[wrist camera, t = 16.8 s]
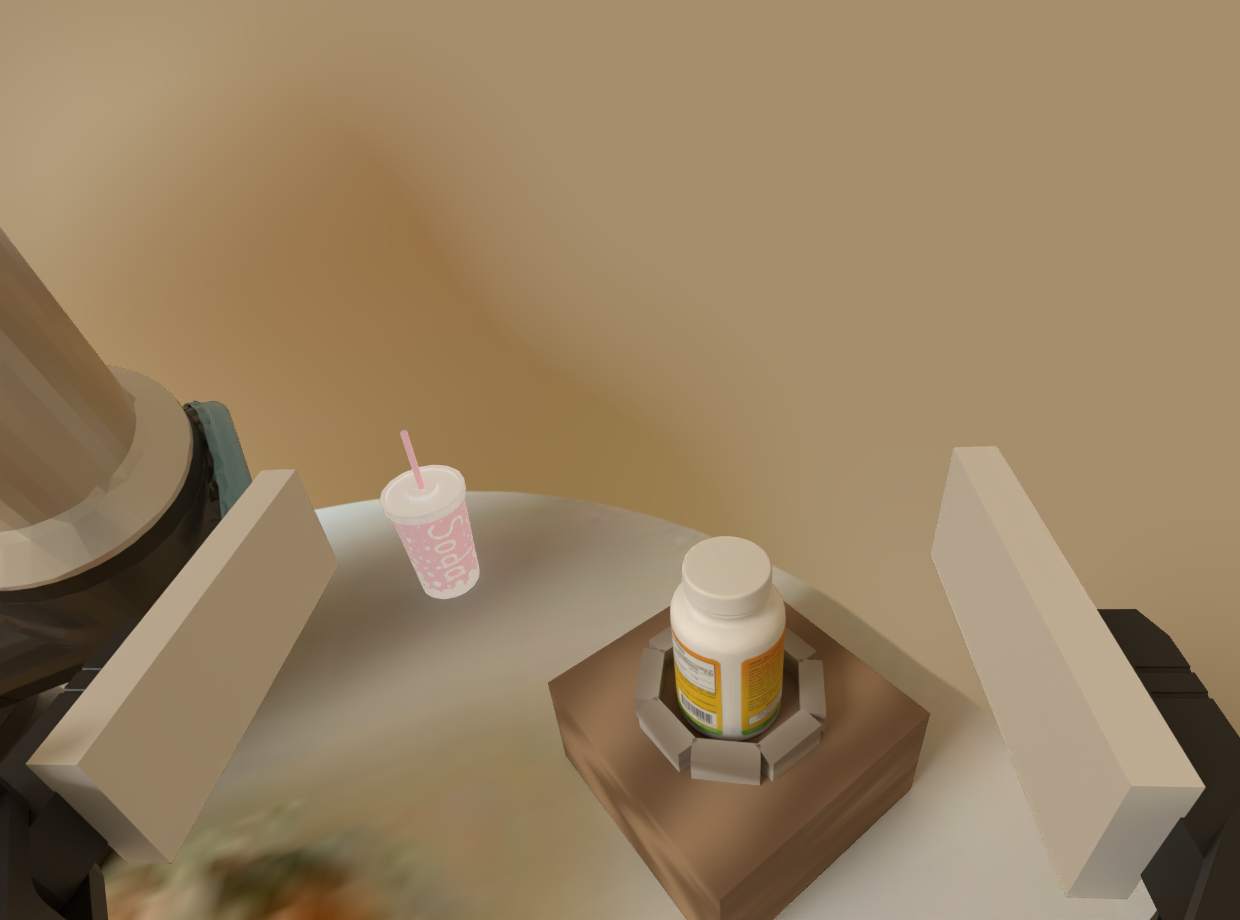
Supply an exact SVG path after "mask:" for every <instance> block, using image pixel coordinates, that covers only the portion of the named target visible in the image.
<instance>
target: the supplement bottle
mask: <svg viewBox="0 0 1240 920" xmlns="http://www.w3.org/2000/svg"><path fill="white" fill-rule="evenodd" d="M670 621H671V631H672V642H673V654H674V665H675V677H676V689H677V698H678V703H679V707H680V709H681V711H682V713H683V715H684V717H685V718H686V720H687V721H688V722H689V724H690V725H691V726H692V727H693V728H695V729H696V730H697V731H699V732H700V733H702V734H704V735H705V736H707V737H710V738H712V739H716V740H724V741H734V742H735V741H742V740H747V739H750V738H753V737H755V736H757V735H759V734H761V733H762V732H764V731H765V730H766V729H767V728H768V727H770V725H771V724H772V723H773V722H774V720H775V719H776V717H777V715H778V712H779V709H780V705H781V698H782V679H783V662H784V642H785V625H786V616H785V606H784V602H783V599H782V597H781V595H780V593H779V592H778V590H777V589H776V587H775V586H774V585H773V584H772V565H771V561H770V559H769V557H768V555H767V553H766V552H765V551H764V550H763V549H762V548H761V547H760V546H758V545H757V544H755V543H753V542H751V541H749V540H746V539H743V538H739V537H734V536H719V537H713V538H709V539H706V540H703V541H701V542H699V543H698V544H696V545H694V546H693V547H692V548H691V549H690V550H689V551H688V552H687V554H686V555H685V557H684V560H683V564H682V582H681V583H680V585H679V586H678V587H677V589H676V591H675V592H674V595H673V597H672V601H671V606H670Z"/></svg>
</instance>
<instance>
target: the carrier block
mask: <svg viewBox="0 0 1240 920" xmlns="http://www.w3.org/2000/svg"><path fill="white" fill-rule="evenodd" d="M783 602H784V601H783ZM784 606H785V616H786V625H785V642H784V662H783V679H782V698H781V705H780V709H779V712H778V715H777V717H776V719H775V720H774V722H773V723H772V724H771V725H770V727H768V728H767V729H766V730H765V731H764V732H762V733H761V734H759V735H757V736H755V737H753V738H750V739H747V740H742V741H735V742H734V741H724V740H716V739H712V738H710V737H707V736H705V735H704V734H702V733H700V732H699V731H697V730H696V729H695V728H693V727H692V726H691V725H690V724H689V722H688V721H687V720H686V718H685V717H684V715H683V713H682V711H681V709H680V707H679V703H678V698H677V689H676V677H675V665H674V654H673V642H672V631H671V621H670V606H669V607H668V608H666V609H664V610H663V611H661V612H660V613H658V614H656V615H655V616H653V617H652V618H650V619H649V620H647V621H645V622H644V623H642V624H641V625H639V626H637V627H636V628H634V629H633V630H631V631H629V632H628V633H626V634H625V635H623V636H622V637H620V638H618V639H617V640H615V641H614V642H612V643H610V644H609V645H607V646H606V647H604V648H602V649H601V650H599V651H598V652H596V653H594V654H593V655H591V656H590V657H588V658H587V659H585V660H583V661H582V662H580V663H579V664H577V665H575V666H574V667H572V668H571V669H569V670H567V671H566V672H564V673H563V674H561V675H560V676H558V677H556V678H555V679H553V680H552V681H550V682H548V685H549V689H550V693H551V697H552V701H553V705H554V709H555V713H556V718H557V722H558V726H559V730H560V734H561V738H562V742H563V746H564V750H565V754H566V756H567V757H568V759H569V760H570V761H571V763H572V764H573V766H574V767H575V768H576V770H577V771H578V772H579V774H580V775H581V776H582V778H583V779H584V780H585V782H586V783H587V785H588V786H589V787H590V789H591V790H592V791H593V793H594V794H595V795H596V797H597V798H598V800H599V801H600V802H601V804H602V805H603V806H604V808H605V809H606V810H607V812H608V813H609V814H610V816H611V817H612V819H613V820H614V821H615V823H616V824H617V825H618V827H619V828H620V829H621V831H622V832H623V834H624V835H625V836H626V838H627V839H628V840H629V842H630V843H631V844H632V846H633V847H634V848H635V850H636V851H637V853H638V854H639V855H640V857H641V858H642V859H643V861H644V862H645V863H646V865H647V866H648V867H649V869H650V870H651V872H652V873H653V874H654V876H655V877H656V878H657V880H658V881H659V882H660V884H661V885H662V887H663V888H664V889H665V891H666V892H667V893H668V895H669V896H670V897H671V899H672V900H673V901H674V903H675V904H676V906H677V907H678V908H679V910H680V911H681V912H682V914H683V915H684V916H685V918H686V919H687V920H772V919H774V918H775V917H776V916H777V915H778V914H779V913H780V912H781V911H782V910H783V909H784V908H785V907H786V906H787V905H788V904H789V903H790V902H792V901H793V900H794V899H795V898H796V897H797V896H798V895H799V894H800V893H801V892H802V891H803V890H804V889H805V888H806V887H807V886H808V885H810V884H811V883H812V882H813V881H814V880H815V879H816V878H817V877H818V876H819V875H820V874H821V873H822V872H823V871H824V870H825V869H826V868H828V867H829V866H830V865H831V864H832V863H833V862H834V861H835V860H836V859H837V858H838V857H839V856H840V855H841V854H842V853H843V852H844V851H846V850H847V849H848V848H849V847H850V846H851V845H852V844H853V843H854V842H855V841H856V840H857V839H858V838H859V837H860V836H861V835H862V834H863V833H865V832H866V831H867V830H868V829H869V828H870V827H871V826H872V825H873V824H874V823H875V822H876V821H877V820H878V819H879V818H880V817H881V816H883V815H884V814H885V813H886V812H887V811H888V810H889V809H890V808H891V807H892V806H893V805H894V804H895V803H896V802H897V801H898V800H899V799H901V798H902V797H903V796H904V795H905V794H906V793H907V792H908V791H909V790H910V789H911V785H912V781H913V777H914V773H915V769H916V765H917V762H918V758H919V754H920V750H921V746H922V742H923V739H924V735H925V731H926V727H927V723H928V719H929V716H930V713H929V712H928V711H926V710H925V709H924V708H922V707H921V706H920V705H918V704H917V703H916V702H915V701H913V700H912V699H911V698H909V697H908V696H907V695H905V694H904V693H903V692H901V691H900V690H899V689H898V688H896V687H895V686H894V685H892V684H891V683H890V682H888V681H887V680H886V679H885V678H883V677H882V676H881V675H879V674H878V673H877V672H875V671H874V670H873V669H871V668H870V667H869V666H868V665H866V664H865V663H864V662H862V661H861V660H860V659H858V658H857V657H856V656H855V655H853V654H852V653H851V652H849V651H848V650H847V649H845V648H844V647H843V646H841V645H840V644H839V643H838V642H836V641H835V640H834V639H832V638H831V637H830V636H828V635H827V634H826V633H824V632H823V631H822V630H821V629H819V628H818V627H817V626H815V625H814V624H813V623H811V622H810V621H809V620H808V619H806V618H805V617H804V616H802V615H801V614H800V613H798V612H797V611H796V610H794V609H793V608H792V607H791V606H789V605H788V604H787V603H785V602H784Z"/></svg>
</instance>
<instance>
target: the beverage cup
mask: <svg viewBox="0 0 1240 920" xmlns="http://www.w3.org/2000/svg"><path fill="white" fill-rule="evenodd" d="M400 434H401V437H402V440H403V443H404V446H405V449H406V452H407V455H408V458H409V461H410V464H411V467H412V470H410V471H407V472H404V473H402V474H401V475H399V476H398V477H396V478H395V479H393V480H392V481H390V482H389V484H388V485H387V486H386V487H385V488H384V489H383V491H382V494H381V498H380V503H381V506H382V508H383V510H384V512H385V514H386V516H387V518H388V519H390V520H392V521H393V524H394V526H395V528H396V530H397V532H398V534H399V537H400V539H401V541H402V543H403V545H404V548H405V550H406V552H407V554H408V556H409V558H410V561H411V563H412V565H413V567H414V569H415V571H416V574H417V576H418V578H419V580H420V582H421V584H422V587H423V589H424V591H425V593H426V594H428V595H430V596H431V597H433V598H439V599H448V598H454V597H457V596H459V595H461V594H463V593H466V592H467V591H468V590H469V589H471V588H472V587H473V586H474V585H475V583H476V582H477V580H478V578H479V565H478V560H477V555H476V550H475V545H474V540H473V535H472V530H471V526H470V521H469V516H468V511H467V506H466V501H465V494H466V486H465V481H464V478H463V476H462V475H461V474H460V472H459V471H458V470H456V469H453V468H451V467H449V466H442V465H429V466H423V467H418V464H417V461H416V458H415V454H414V451H413V448H412V445H411V442H410V439H409V436H408V433H407V431H406V430H404V431H401V432H400Z"/></svg>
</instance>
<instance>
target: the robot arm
mask: <svg viewBox="0 0 1240 920" xmlns="http://www.w3.org/2000/svg"><path fill="white" fill-rule="evenodd" d="M930 555H931V558H932V560H933V563H934V565H935V568H936V570H937V573H938V575H939V578H940V580H941V583H942V586H943V588H944V590H945V593H946V596H947V598H948V600H949V603H950V606H951V608H952V611H953V613H954V616H955V618H956V621H957V623H958V626H959V629H960V631H961V633H962V636H963V639H964V641H965V644H966V646H967V649H968V651H969V654H970V656H971V659H972V661H973V664H974V666H975V669H976V671H977V674H978V677H979V679H980V682H981V684H982V686H983V689H984V691H985V694H986V697H987V699H988V702H989V704H990V707H991V709H992V712H993V714H994V717H995V720H996V722H997V725H998V727H999V730H1000V732H1001V735H1002V737H1003V740H1004V742H1005V745H1006V747H1007V750H1008V752H1009V755H1010V757H1011V760H1012V762H1013V765H1014V768H1015V770H1016V773H1017V775H1018V778H1019V780H1020V783H1021V785H1022V788H1023V790H1024V793H1025V795H1026V798H1027V800H1028V803H1029V805H1030V808H1031V811H1032V813H1033V816H1034V818H1035V821H1036V823H1037V826H1038V828H1039V831H1040V833H1041V836H1042V838H1043V841H1044V843H1045V846H1046V848H1047V851H1048V853H1049V856H1050V859H1051V861H1052V864H1053V866H1054V869H1055V871H1056V874H1057V876H1058V879H1059V881H1060V884H1061V886H1062V889H1063V891H1064V894H1065V896H1066V897H1076V898H1103V899H1128V897H1129V896H1130V894H1131V893H1132V892H1133V890H1134V889H1135V887H1136V886H1137V884H1138V883H1139V882H1140V880H1141V879H1142V880H1143V882H1144V884H1145V886H1146V888H1147V890H1148V892H1149V894H1150V896H1151V898H1152V901H1153V903H1154V905H1155V907H1156V909H1157V911H1156V912H1155V914H1154V915H1153V916H1152V918H1151V919H1150V920H1240V737H1239V736H1238V735H1237V733H1236V732H1235V730H1234V729H1233V728H1232V726H1231V724H1230V723H1229V722H1228V720H1227V719H1226V718H1225V716H1224V714H1223V713H1222V711H1221V710H1220V709H1219V707H1218V706H1217V704H1216V703H1215V701H1214V700H1213V699H1210V698H1209V697H1208V691H1207V690H1206V688H1205V687H1204V685H1203V684H1202V682H1201V681H1200V680H1199V678H1198V677H1197V675H1196V674H1195V673H1192V672H1191V670H1190V665H1189V664H1188V662H1187V661H1186V659H1185V658H1184V657H1183V655H1182V654H1181V652H1180V651H1179V649H1178V648H1177V647H1176V645H1175V644H1174V642H1173V641H1172V639H1171V638H1170V636H1169V635H1168V634H1166V633H1165V632H1164V631H1162V630H1161V629H1160V628H1159V627H1158V626H1156V625H1155V624H1154V623H1153V622H1151V621H1150V620H1149V619H1148V618H1146V617H1145V616H1144V615H1143V614H1141V613H1140V612H1139V611H1138V610H1136V609H1096V607H1095V606H1094V604H1093V602H1092V601H1091V599H1090V598H1089V596H1088V594H1087V593H1086V591H1085V590H1084V588H1083V586H1082V585H1081V583H1080V581H1079V580H1078V578H1077V576H1076V575H1075V573H1074V571H1073V570H1072V568H1071V567H1070V565H1069V563H1068V562H1067V560H1066V558H1065V557H1064V555H1063V553H1062V552H1061V550H1060V549H1059V547H1058V545H1057V544H1056V542H1055V540H1054V539H1053V537H1052V535H1051V534H1050V532H1049V531H1048V529H1047V527H1046V526H1045V524H1044V523H1043V521H1042V519H1041V518H1040V516H1039V514H1038V513H1037V511H1036V509H1035V508H1034V506H1033V505H1032V503H1031V501H1030V500H1029V498H1028V496H1027V495H1026V493H1025V491H1024V490H1023V488H1022V487H1021V485H1020V483H1019V482H1018V480H1017V478H1016V477H1015V475H1014V474H1013V472H1012V470H1011V469H1010V467H1009V465H1008V464H1007V462H1006V460H1005V459H1004V457H1003V455H1002V454H1001V452H1000V451H999V449H998V447H997V446H978V447H954V448H953V452H952V457H951V461H950V466H949V471H948V475H947V480H946V485H945V489H944V494H943V499H942V503H941V508H940V513H939V517H938V522H937V527H936V531H935V536H934V541H933V545H932V550H931V554H930ZM338 565H339V564H338V562H337V560H336V557H335V555H334V553H333V551H332V548H331V546H330V544H329V542H328V540H327V537H326V535H325V533H324V531H323V528H322V526H321V524H320V522H319V520H318V517H317V515H316V513H315V511H314V508H313V506H312V504H311V502H310V499H309V497H308V495H307V493H306V491H305V488H304V486H303V484H302V482H301V480H300V477H299V475H298V473H297V471H296V469H289V470H262V471H261V472H260V473H259V474H258V476H257V477H256V478H255V479H254V481H253V482H252V478H251V475H250V472H249V469H248V466H247V463H246V460H245V457H244V454H243V451H242V448H241V444H240V441H239V438H238V435H237V432H236V429H235V426H234V423H233V420H232V417H231V414H230V412H229V410H228V409H227V407H226V406H225V405H224V404H222V403H220V402H217V401H209V402H203V403H200V402H197V401H194V402H191V403H186V404H185V405H184V406H183V407H182V406H181V404H179V402H178V401H177V400H176V398H175V397H174V396H173V395H172V393H171V392H169V391H168V390H167V389H166V388H165V387H163V386H162V385H161V384H160V383H158V382H156V381H154V380H153V379H151V378H149V377H147V376H145V375H142V374H140V373H138V372H135V371H132V370H129V369H125V368H121V367H117V366H110V365H105V364H104V362H103V361H102V360H101V358H100V357H99V356H98V354H97V353H96V352H95V350H94V349H93V348H92V347H91V345H90V344H89V343H88V341H87V340H86V339H85V337H84V336H83V335H82V333H81V332H80V331H79V330H78V328H77V327H76V326H75V324H74V323H73V322H72V320H71V319H70V318H69V316H68V315H67V314H66V313H65V311H64V310H63V309H62V307H61V306H60V305H59V304H58V302H57V301H56V300H55V298H54V297H53V296H52V294H51V293H50V292H49V290H48V289H47V288H46V286H45V285H44V284H43V283H42V281H41V280H40V279H39V277H38V276H37V275H36V273H35V272H34V271H33V270H32V268H31V267H30V266H29V265H28V263H27V262H26V261H25V259H24V258H23V256H22V255H21V254H20V253H19V251H18V250H17V249H16V247H15V246H14V245H13V243H12V242H11V241H10V239H9V238H8V237H7V235H6V234H5V233H4V232H3V230H2V229H1V228H0V920H108V914H107V903H106V893H105V883H104V876H103V874H102V872H101V869H100V867H99V865H100V864H101V863H102V861H103V860H104V859H105V858H106V856H107V855H108V854H109V852H110V851H111V850H112V848H113V849H114V850H115V851H116V852H117V853H118V854H119V855H120V856H121V857H122V858H123V859H124V860H125V861H126V862H134V863H161V864H172V862H173V860H174V858H175V857H176V855H177V853H178V851H179V849H180V848H181V846H182V844H183V842H184V840H185V839H186V837H187V835H188V833H189V831H190V830H191V828H192V826H193V824H194V823H195V821H196V819H197V817H198V815H199V814H200V812H201V810H202V808H203V806H204V805H205V803H206V801H207V799H208V798H209V796H210V794H211V792H212V790H213V789H214V787H215V785H216V783H217V781H218V780H219V778H220V776H221V774H222V773H223V771H224V769H225V767H226V765H227V764H228V762H229V760H230V758H231V756H232V755H233V753H234V751H235V749H236V747H237V746H238V744H239V742H240V740H241V739H242V737H243V735H244V733H245V731H246V730H247V728H248V726H249V724H250V722H251V721H252V719H253V717H254V715H255V714H256V712H257V710H258V708H259V706H260V705H261V703H262V701H263V699H264V697H265V696H266V694H267V692H268V690H269V688H270V687H271V685H272V683H273V681H274V680H275V678H276V676H277V674H278V672H279V671H280V669H281V667H282V665H283V663H284V662H285V660H286V658H287V656H288V655H289V653H290V651H291V649H292V647H293V646H294V644H295V642H296V640H297V638H298V637H299V635H300V633H301V631H302V629H303V628H304V626H305V624H306V622H307V621H308V619H309V617H310V615H311V613H312V612H313V610H314V608H315V606H316V604H317V603H318V601H319V599H320V597H321V596H322V594H323V592H324V590H325V588H326V587H327V585H328V583H329V581H330V579H331V578H332V576H333V574H334V572H335V571H336V569H337V567H338ZM68 682H69V683H68ZM65 683H68V684H67V685H66V686H65V689H62V688H60V687H58V686H60V685H62V684H65Z"/></svg>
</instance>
